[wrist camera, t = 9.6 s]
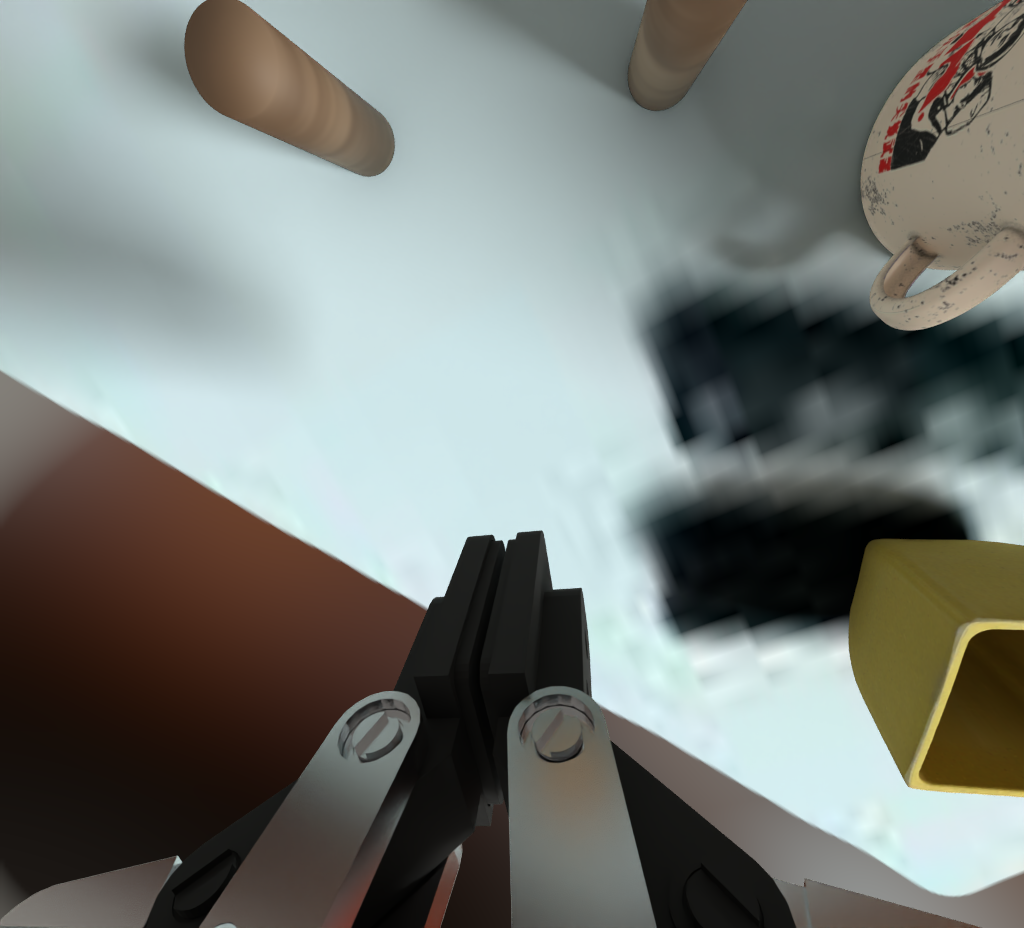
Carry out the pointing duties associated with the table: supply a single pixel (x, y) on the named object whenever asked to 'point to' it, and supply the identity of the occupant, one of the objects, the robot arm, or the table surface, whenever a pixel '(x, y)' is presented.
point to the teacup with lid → (950, 172)
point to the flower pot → (944, 660)
